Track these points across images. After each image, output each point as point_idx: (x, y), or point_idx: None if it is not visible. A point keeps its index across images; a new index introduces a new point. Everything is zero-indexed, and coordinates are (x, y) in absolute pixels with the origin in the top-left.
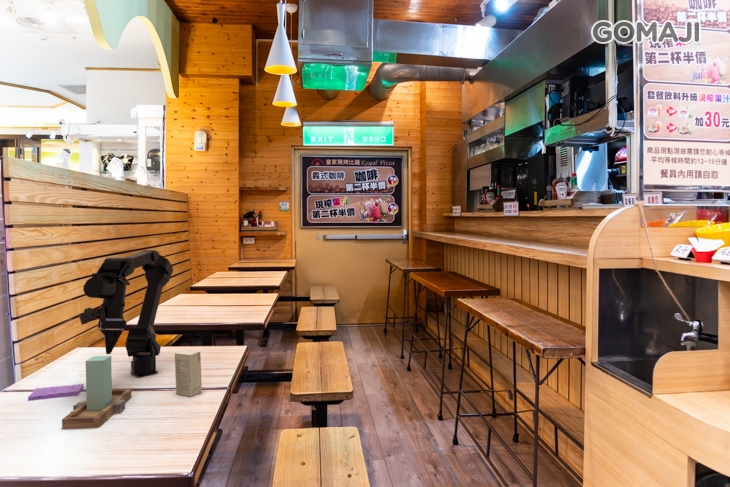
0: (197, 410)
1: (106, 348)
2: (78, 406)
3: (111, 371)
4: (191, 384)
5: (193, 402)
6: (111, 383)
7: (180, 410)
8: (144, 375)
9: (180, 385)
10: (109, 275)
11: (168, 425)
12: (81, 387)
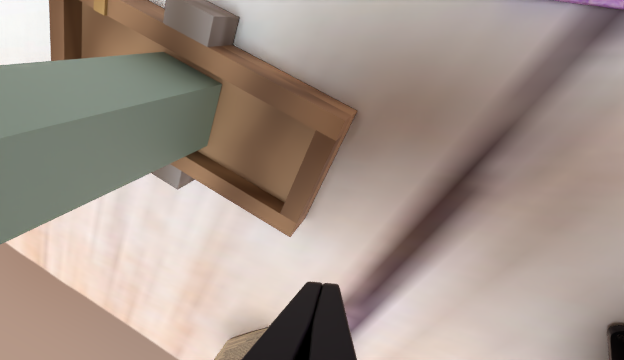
0: (141, 306)
1: (274, 326)
2: (165, 17)
3: (81, 205)
4: None
5: (190, 324)
6: (138, 176)
7: (150, 282)
8: (610, 354)
9: (238, 356)
10: None
11: (78, 232)
12: (605, 5)
